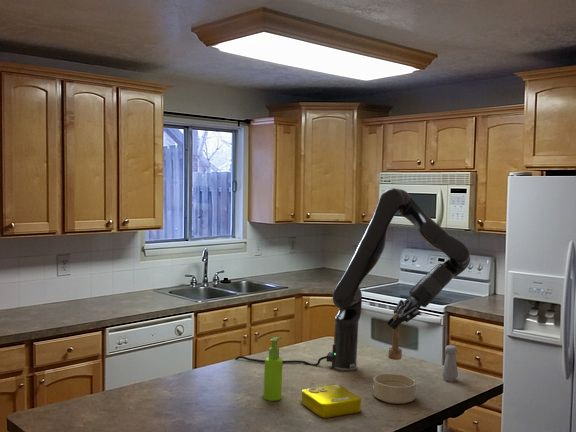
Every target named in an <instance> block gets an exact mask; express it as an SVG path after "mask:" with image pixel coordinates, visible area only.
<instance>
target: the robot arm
mask: <svg viewBox="0 0 576 432" xmlns="http://www.w3.org/2000/svg"><path fill="white" fill-rule="evenodd" d="M396 215H400V216H402V217H403V218H405V219H407V220H408V221H409V223H411V224H412V225H413V226H414V227H415V229H416V230H417V232H418V234H419V235H420V236H421V237H422V238H423V240H425V241H426V242H427V243H428V244H429V245H430V246H431V247H433V249H435V250H436V251H438V252H442V253H443V254H445V255H446V257H447V259H446V260H444V262H442V263H438V264H436V265H435V266H434V267H432V269H431V270H430V271H429V272H428V273H427V274H425V275H424V276H423V277H422V278H420V280H419V281H418V282H417V283H415V284H414V286H413V287H412V288H411V289H409V291H408V294H409V296H408V298H406V299H404V300H403V299H400V300H399V301H398V303H397V304H396V306H395V308H394V309H393V311H392V312H393V315H392V317H391V318H390V319H388V320H387V321H386V324H387V325H388V326H389V328H392V330H393V329H396V328H397V327H398V326H399V325H400V326H401V324H402V323H408V322H410V321H411V320H413V319H414V318H416V317H418V316H419V315H420V314H421V311H420V310H419V309H421V307H422V308H426V307H428V306H429V304H430V303H432V301H434V300H435V298H436V297H437V296H438V295H439V294H440V293H441V292H442V291H443V289H444V288H445V287H446V286H447V285H448V284H449V283H450V282H451V281H452V280H453V279H454V278H456V277H458V276H460V275H461V273H463V272H464V271H465V270H466V269H467V268H469V266H470V263H471V252H470V249H469V247H468V246H467V245H465V243H464V242H462V240H459V239H457V238H455V237H454V236H453V235H450V234H449V232H448V231H446V230H445V229H444V228H443V227H442V226H440V225H439V224H438V223H437V222H436V221H435V220H433V219H432V218H431V217H430V216H429V215H428V214H427V213H426V212H425V211H424V210H423V209H422V208H421V207H420V205H418V203H417V202H416V201H415V200H414V198H413V197H412V196H411V195H410V193H408V192H407V191H406V190H404V189H400V188H395V187H394V188H393V187H391V188H387V189H386V190H384V192H382V193H381V196H380V198H379V200H378V202H377V205H376V207H375V210H374V213H373V215H372V218H371V220H370V222H369V224H368V226H367V228H366V230H365V233H364V234H363V236H362V238H361V239H360V242H359V244H358V246H357V248H356V250H355V252H354V254H353V256H352V258H351V260H350V262H349V265H348V267H347V268H346V270H345V272H344V274H343V276H342V277H341V279H340V280H339V282H338V283H337V285H336V287H335V289H334V290H333V292H332V303H333V304H334V306H335V307H336V308H338V309H339V310H338V312H337V314H336V315H335V317H334V331H333V332H334V333H333V335H334V336H333V344H332V350H331V351H332V352H330V351H329V352H327V355H325V356H322V357H320V358H319V359H318V360H317V362H316V363H311V362H308V361H305V360H283V362H282V364H305V365H308V366H313V367H318V366H319V365H320V363H321V361H322V360H325V361H326V362H327V363H331V369H333V370H337V371H340V372H352V371H356V370H357V367H358V366H357V362H358V337H359V321H360V319H361V315H362V304H363V295H362V290H361V287H360V285H361V284H362V282H363V280H365V278H366V277H367V275H369V273H370V272H371V271H372V270H373V269H374V267H375V266H376V265H377V263H378V261H379V260H380V258H381V257H382V254H383V253H384V250H385V247H386V243H387V234H388V229H389V227H390V224H391V222H392V220H393V219H394V217H395V216H396ZM395 313H397V314H400V315H399V316H398V317H397V318H396V319H395V320H394V321H393V317H394V314H395ZM240 359H243V360H246V361H249V362H256V363H264V364H265V359H259V358H258V359H257V358H250V357H247V356H244V355H239V356H236V357H235V358H234V360H235V361H238V360H240Z"/></svg>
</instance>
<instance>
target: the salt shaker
mask: <svg viewBox="0 0 576 432" xmlns="http://www.w3.org/2000/svg"><path fill="white" fill-rule="evenodd" d="M444 351H445V352H446V354H445V358H444V363H443V366H442V367H443V368H442V371H441V375H442V378H443V380H444V381H446V382H450V383H454V382H456V381H457V379H458V377H459V372H458V366H457V357H456V354H457V353H458V347H457V346H455V345H453V344H448V345H446V346H445V349H444Z"/></svg>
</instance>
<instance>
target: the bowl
mask: <svg viewBox="0 0 576 432" xmlns="http://www.w3.org/2000/svg"><path fill="white" fill-rule="evenodd" d="M416 387H417V381H416V380H415V379H414V378H412V377H411V376H407V375H404V374H399V373H392V372H391V373H388V372H387V373H386V372H385V373H380V374H376V375H375V376H373V379H372V395H373V397H375V398H376V399H378V400H380V401H381V402H385V403H388V404H394V405H395V404H396V405H400V404H401V405H402V404H408V403H410V402H413V401H414V400H415V399H416V389H417V388H416Z"/></svg>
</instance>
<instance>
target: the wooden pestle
mask: <svg viewBox="0 0 576 432" xmlns="http://www.w3.org/2000/svg"><path fill="white" fill-rule="evenodd" d="M399 315H400V314H397V313H395V314H394V313H393V316H394V317H393V316H392V317H393V321H394V320H395V319H396V318H397V317H398V316H399ZM400 326H401V324H400V325H399V326H398V327H397V328H396V329H393V328H392V340H391V341H392V342H391V347H388V354H387V355H388V356H387V358H388V359H390V360H393V361H394V360H395V361H400V360H402V357H403V356H402V355H403V348H399V347H400V328H401V327H400Z"/></svg>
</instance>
